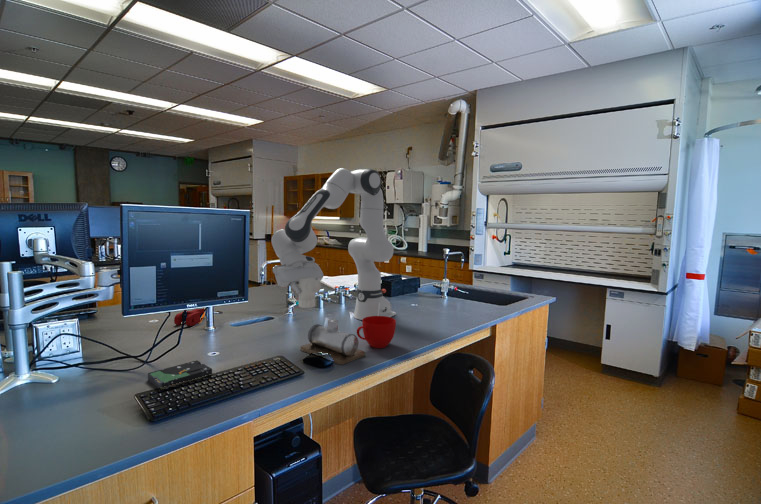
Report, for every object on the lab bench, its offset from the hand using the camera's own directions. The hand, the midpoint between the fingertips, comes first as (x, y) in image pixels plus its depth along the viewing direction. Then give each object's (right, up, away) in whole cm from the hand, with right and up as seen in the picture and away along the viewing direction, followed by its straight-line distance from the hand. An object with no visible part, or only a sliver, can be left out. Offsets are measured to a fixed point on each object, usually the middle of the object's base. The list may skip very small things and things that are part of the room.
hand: (307, 291), depth 155 cm
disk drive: (-32, -23, -36) cm, 53 cm away
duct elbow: (0, -6, 0) cm, 6 cm away
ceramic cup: (+26, -21, -3) cm, 34 cm away
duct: (+11, -21, -11) cm, 26 cm away
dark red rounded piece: (-56, -16, +24) cm, 63 cm away
